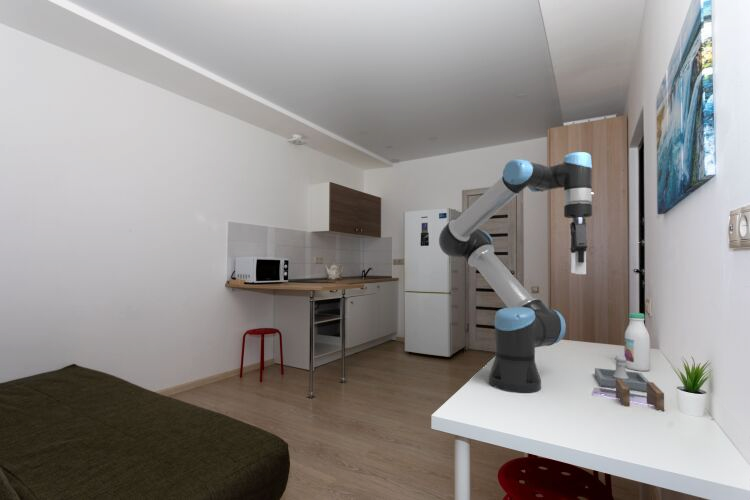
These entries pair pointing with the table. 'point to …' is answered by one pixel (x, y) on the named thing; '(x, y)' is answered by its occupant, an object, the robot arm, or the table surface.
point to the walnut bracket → (652, 393)
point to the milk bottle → (637, 344)
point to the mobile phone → (612, 394)
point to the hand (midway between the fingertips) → (578, 273)
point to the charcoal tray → (635, 380)
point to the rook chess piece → (620, 368)
